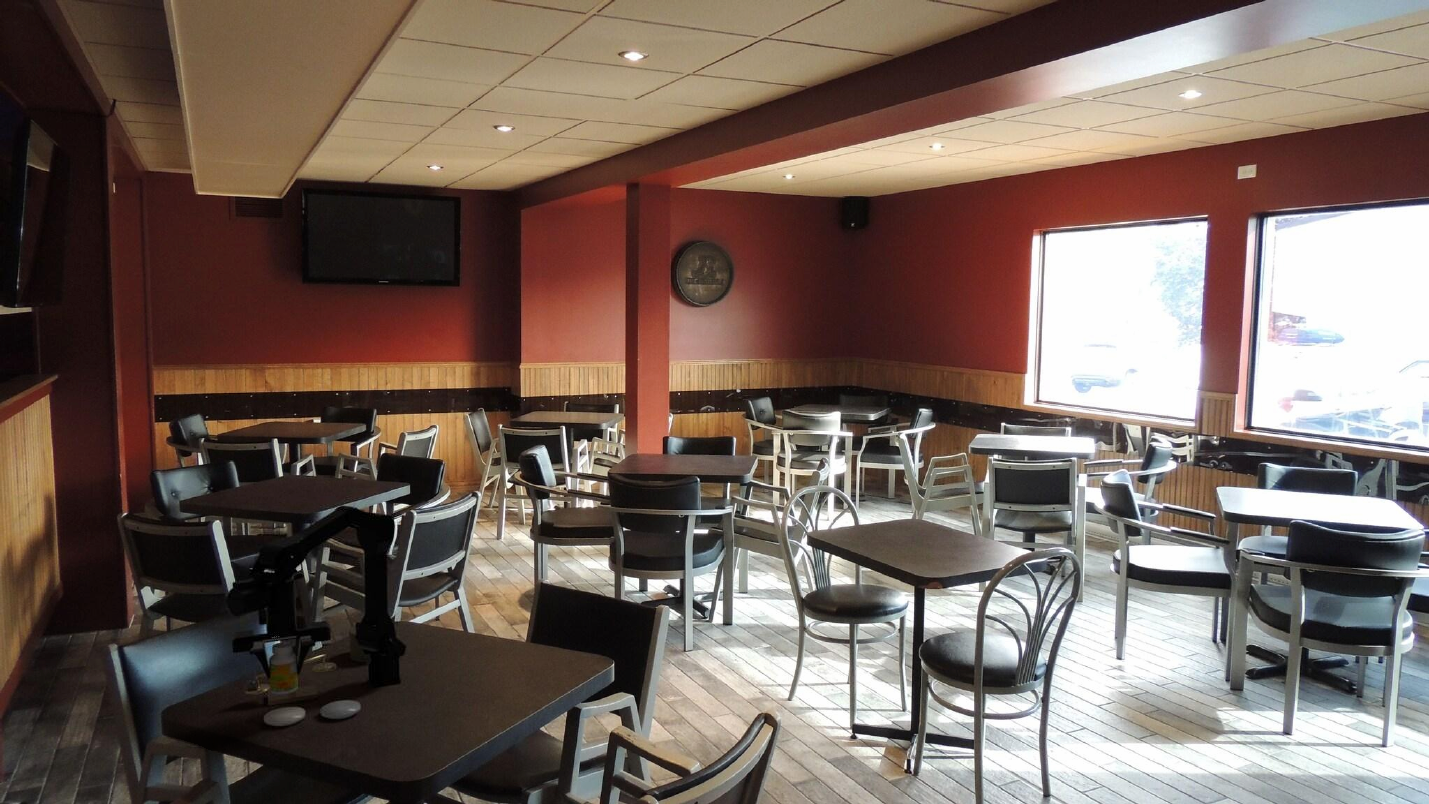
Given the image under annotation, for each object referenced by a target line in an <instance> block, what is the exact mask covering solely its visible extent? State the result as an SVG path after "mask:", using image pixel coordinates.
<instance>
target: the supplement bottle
mask: <svg viewBox="0 0 1429 804" xmlns="http://www.w3.org/2000/svg"><path fill="white" fill-rule="evenodd" d="M293 651H294V644H293V643H292V642H289V641H282V642H281V641H280V642H277V643H274V644H272V647H271V652H272V655H271V656H270V657H269V659H268V665H269V671H270V679H269V685H270V691H271V692H272V693H273V694H287V693H291V692H293V691H295V690H296V689H297V688H298V687H299V678H298V677H299V676H298V673H297V661H298V655H297V654H296V652H293ZM270 691H269V692H270Z"/></svg>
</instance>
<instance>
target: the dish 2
mask: <svg viewBox="0 0 1429 804" xmlns="http://www.w3.org/2000/svg"><path fill="white" fill-rule="evenodd" d="M360 711H361V703H360V702H359V701H356V700H349V699H348V700H346V699H345V700H337V701H332V702H330V703H329V702H328V704H327V703H326V704H325V705H324V706H321V708H320V716H322V717H323V718H327V719H329V720H343V719H347V718H350V717H352V716H354V715H356V714H357V713H359V712H360Z"/></svg>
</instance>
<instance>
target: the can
mask: <svg viewBox="0 0 1429 804" xmlns="http://www.w3.org/2000/svg"><path fill="white" fill-rule="evenodd" d="M393 623H394V626H395V632H396V638H397V639H399V640H400V636H399V635H400V624H399V623H397V622H396V621H393ZM355 625H356V624H355ZM355 625H352V626H351V627H349V629H348V634H349V651H350V652H349V653H350V655H349V656H350V659H351V660H352V661H355V662H359V663H367V662H368V661H370V655H367V654H364V652H363V650H362V648H361V647H360V646H359V645H358V641H357V640H356V639H355V637H356V627H355Z"/></svg>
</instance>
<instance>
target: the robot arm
mask: <svg viewBox="0 0 1429 804" xmlns="http://www.w3.org/2000/svg"><path fill="white" fill-rule="evenodd" d="M347 528H351V529H352V530H353V529H354V530H355V533H356V538H357V539H356V540H357V542H358V543H359V545H360V547H361V549H362V550H363V551H362V552H363V554H364V557H363V559H364V563H363V564H364V565H363V566H364V610H365V611H364V615H363V617H362V619H361V620H360V621H356V622H355V627H356V637H355V639H356V640H357V641H358V645H359V646H360V647H361V648H362V650H363V652H364V654H367V655H370V661H368V662H366V666H367V667H366V668H367V669H366V670H367V672H366V673H367V676H366V677H367V681H368V683H370V684H371V687H378V686H379V687H380V686H387V685H392V684H398V683H399V684H400V683H401V682H402V679H401V675H400V658H401V657H402V656H404V655H406V654H405V653H406V651H407V650H406V649H407V645H406V644H405V643H403V642H402V641H401V640H400V638H399V639H397V638H396V632H395V626H394V623H393V622H394V621H393V620H392V617H391V616H390V614H389V611H388V610H389V607H388V606H389V605H388V600H389V599H388V598H389V597H388V551H389V548H390V546H391V545H392V543H393V541H394V537H395V530H396V529H395V528H396V524H395V520H394V518H392V516H390V515H388V514H383V513H377V512H371V511H365V510H362V509H358V508H357V507H355V506H349V505H340V506H338V507H336V508H335V509H334V510H333V511H332V512H330V513H328V514H327V515H325V516H323V517H322V518H320V519H319V520H317V521H316V522H314V523H312V524H311V525H309V526H307V527H306V528H304V529H301V531H299V532H297V533H296V534H293V535H289V536H286V537H281V538H278V539H276V540H275V539H274V540H272V541H270V542H268V543H266V544H264V545H262V547H260V549H259V553H258V557H257V558H256V560H255V562H254V563H253V565H252V568H251V570H250V571H249V573H248V575H247V579H244V580H236V581H233V582H232V588H230V590H229V591H228V593H227V596H226V605H227V608H228V610H229V612H230V614H231V615H233V616H234V617H241V616H246V615H248V614H251V613H255V612H257V613H258V625H259V626H265V627H266V629H265V631H266V633H265V632H264V633H259V634H258V633H257V634H254V630H253V629H249V630H243V631H242V630H241V631H240V630H239V631H234V633H233V634H232V636H231V637H232V639H231V640H232V641H231V642H232V645H231V646H232V653H233V654H234V653H235V654H237V653H238V654H239V653H245V652H248V653H249V655H253V656H255V658H256V659H257V660H258V662H259V663H260V665H261V666H262V670H263V671H264V673H265V674H266V676H267V677H266V678H267V680H270V671H269V659H268V655H267V651H266V645H265V644H267V643H273V642H281V641H282V642H284V641H289V640H290V641H291V640H297V639H298V652H297V673H298V675H301V671H302V668H303V666H304V665H303V663H304V660H306V657H307V655H308V653H309V651H310V649H311V648H312V647H315V646H316V643H321V642H328V641H330V640H332V637H331V636H332V633H331V627H330V623H329V622H328V621H327V620H321V621H313V622H309V623H308V627H307V628H306V627H305V628H298V627H297V612H296V611H297V609H296V608H297V607H296V586H295V585H296V584H295V581H297V580H301V579H303V578H305V575H304V574H302V573H301V572H299V571H298V570H297V568H298V567H299V566H300V565H302V563H304V562H305V559H306V558H307V556H308V555H309V554H310V552H312V551H313V550H315V549H317V548H319V547H320V546H321V545H323V544H324V543H326V542H328V541H329V540H331V539H333V538H334V537H335V536H337V535H338V534H340V533H342V532H344V531H345V530H346V529H347ZM267 571H270V572H267ZM271 572H273V573H271Z"/></svg>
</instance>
